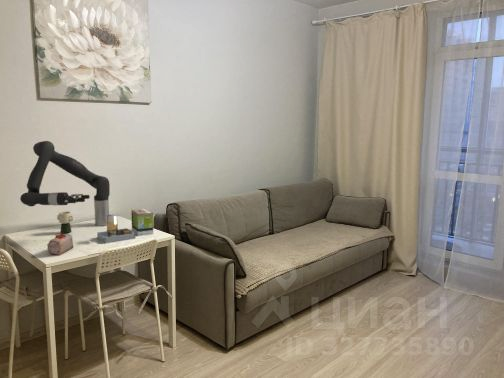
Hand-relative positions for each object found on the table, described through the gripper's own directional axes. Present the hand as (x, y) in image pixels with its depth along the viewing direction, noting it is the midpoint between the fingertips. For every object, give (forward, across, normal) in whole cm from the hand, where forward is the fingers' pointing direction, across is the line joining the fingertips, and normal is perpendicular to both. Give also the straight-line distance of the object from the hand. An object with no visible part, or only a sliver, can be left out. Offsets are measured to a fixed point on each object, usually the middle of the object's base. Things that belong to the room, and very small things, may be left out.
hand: (87, 198), depth 241 cm
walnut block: (+20, +3, +25) cm, 32 cm away
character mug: (-20, +15, +25) cm, 36 cm away
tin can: (+13, -1, +25) cm, 28 cm away
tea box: (+28, +13, +26) cm, 41 cm away
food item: (-8, -23, +25) cm, 35 cm away
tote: (+15, 0, +26) cm, 30 cm away
